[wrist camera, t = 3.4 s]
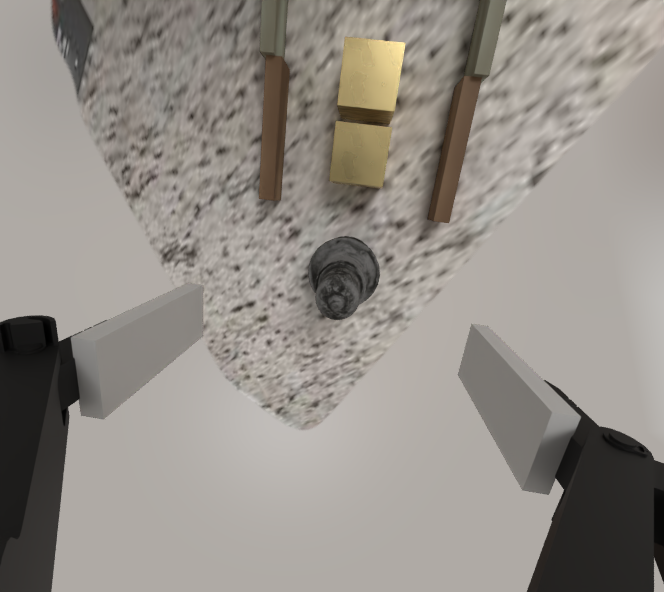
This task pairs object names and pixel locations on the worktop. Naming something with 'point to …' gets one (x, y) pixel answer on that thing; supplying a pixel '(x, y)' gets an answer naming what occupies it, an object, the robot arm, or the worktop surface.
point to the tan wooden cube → (359, 154)
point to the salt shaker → (342, 276)
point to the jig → (457, 122)
